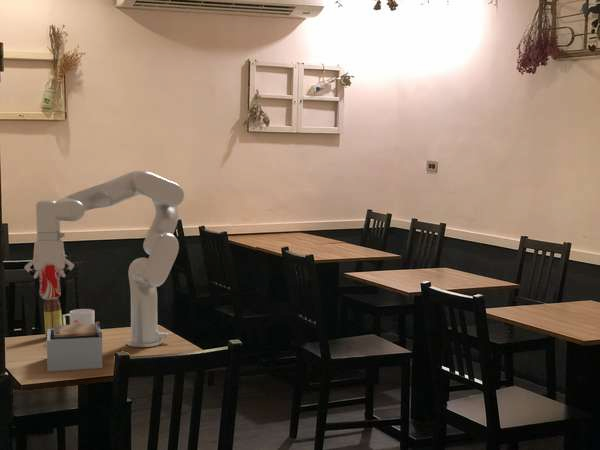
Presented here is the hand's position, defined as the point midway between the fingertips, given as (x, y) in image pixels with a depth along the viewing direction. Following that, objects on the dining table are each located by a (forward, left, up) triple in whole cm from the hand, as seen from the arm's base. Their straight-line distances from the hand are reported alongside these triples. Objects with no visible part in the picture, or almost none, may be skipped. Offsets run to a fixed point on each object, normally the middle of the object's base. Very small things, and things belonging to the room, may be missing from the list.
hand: (50, 288), depth 270 cm
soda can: (0, 0, -3) cm, 3 cm away
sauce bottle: (0, -31, -24) cm, 39 cm away
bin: (-7, +11, -23) cm, 27 cm away
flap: (-8, +11, -13) cm, 19 cm away
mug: (-9, -23, -24) cm, 34 cm away
